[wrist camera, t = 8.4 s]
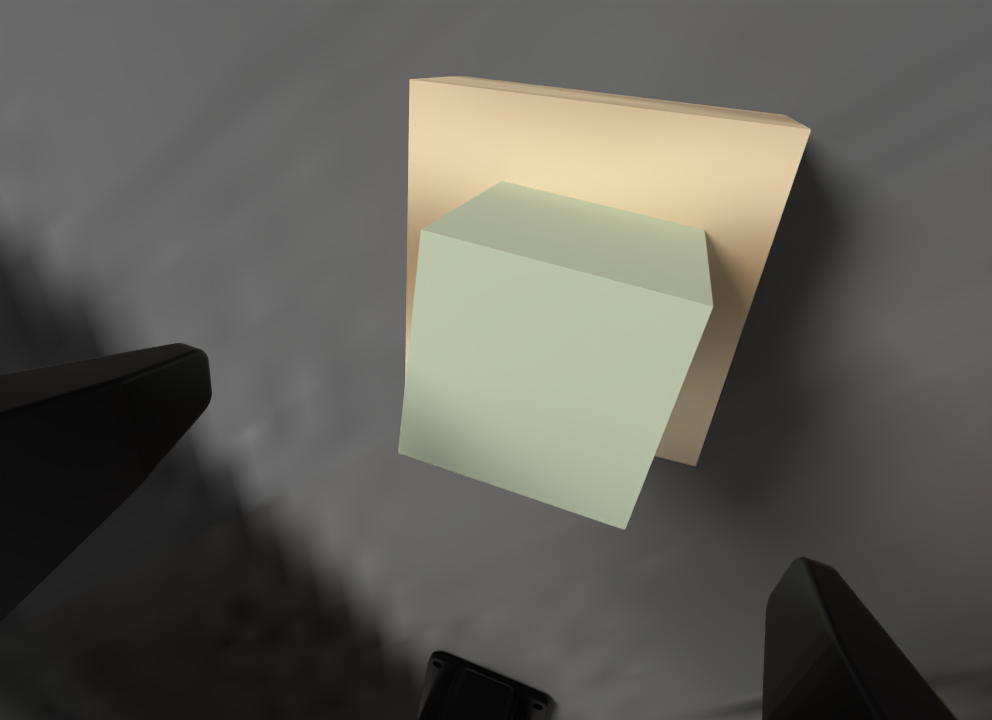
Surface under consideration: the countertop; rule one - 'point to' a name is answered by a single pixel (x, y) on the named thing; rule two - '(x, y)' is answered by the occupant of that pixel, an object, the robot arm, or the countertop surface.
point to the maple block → (617, 188)
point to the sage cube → (551, 345)
